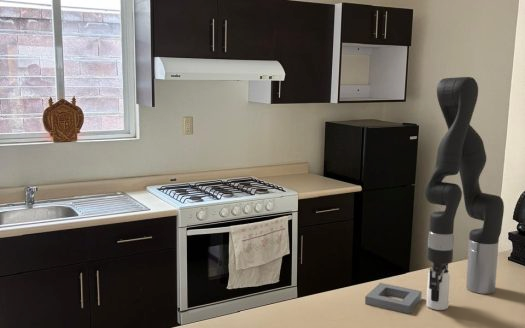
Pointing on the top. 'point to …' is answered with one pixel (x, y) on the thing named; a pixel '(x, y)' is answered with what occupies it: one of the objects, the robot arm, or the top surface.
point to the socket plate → (383, 289)
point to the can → (443, 293)
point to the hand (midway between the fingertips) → (437, 296)
